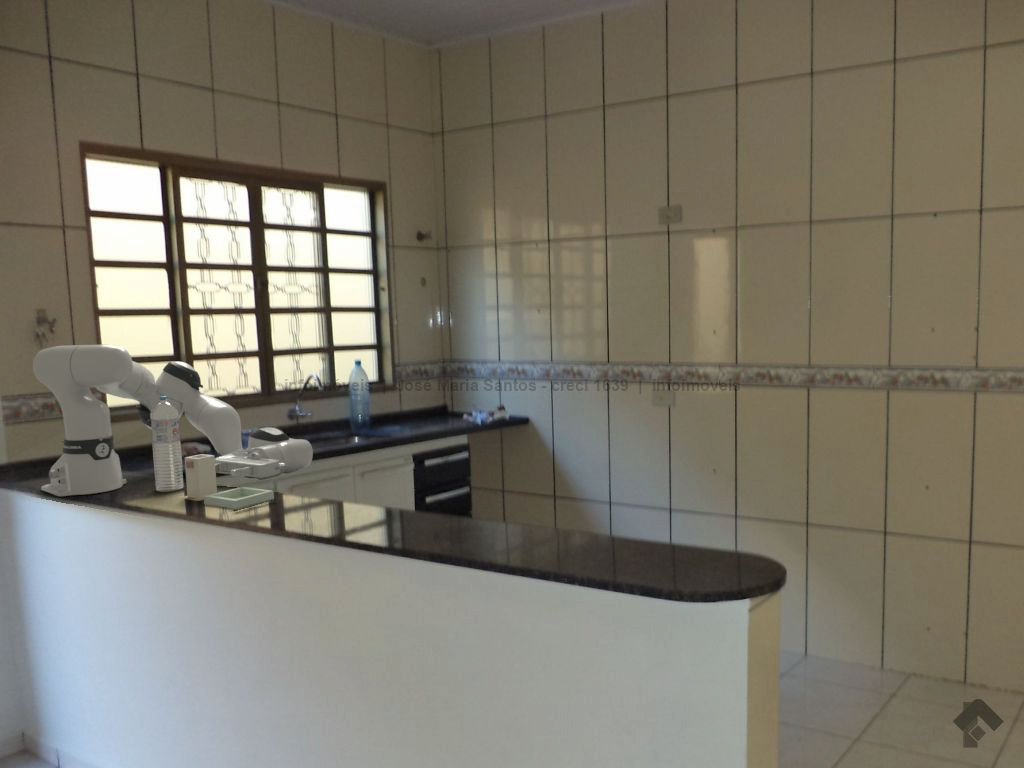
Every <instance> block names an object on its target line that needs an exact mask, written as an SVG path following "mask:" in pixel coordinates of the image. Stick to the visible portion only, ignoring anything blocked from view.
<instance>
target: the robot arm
mask: <svg viewBox="0 0 1024 768" xmlns="http://www.w3.org/2000/svg"><path fill="white" fill-rule="evenodd" d="M32 362H33V363H32V371H33V374H34V376H35V378H36V379H37V380H38V382H40V384H42V385H44V386H45V387H46V388H48V389H49V390H50V391H51V393H52V394H53V395H54V397H55V398H56V401H57V402H58V404H59V406H60V409H61V413H62V418H63V424H64V434H65V435H64V436H65V439H64V440H63V441H61V443H63V444H61V446H62V453H63V454H62V455H61V456H60V457H59V458H58V459H57V460H56V462H55V463H54V464H53V465H52V466H51V467H50V470H49V471H48V476H49V479H50V483H48V484H44V485H42V486H41V488H40V490H41V491H43V492H46V493H49V494H51V495H54V496H56V497H66V496H67V497H68V496H78V495H79V496H80V495H82V496H83V495H91V494H93V495H94V494H98V493H105V492H110V491H114V490H117V489H120V488H122V487H123V486H124V484H127V479H126V478H123V473H122V468H121V467H122V466H121V461H120V457H119V454H118V453H116V451H115V450H114V449H115V447H116V446H115V443H116V441H115V439H114V435H113V434H112V422H111V411H110V408H109V406H108V404H106V403H105V402H104V401H101V400H100V399H98V398H96V396H95V395H94V394H93V392H92V391H91V388H90V387H94V388H95V389H96V390H97V391H99V392H100V393H103V394H107V395H110V396H114V397H117V398H122V399H128V400H129V399H130V400H133V401H136V402H138V403H139V405H135V409H136V410H137V411H138V417H139V419H140V421H141V423H142V424H144V426H146V428H148V429H150V430H151V431H152V425H151V419H150V417H151V416H150V413H151V411H152V410H153V408H154V407H155V406H156V405H157V404H159V403H160V399H159V397H161V396H167V402H168V403H170V404H171V405H173V406H174V407H175V408H176V409H177V411H178V415H179V417H178V421H179V420H180V418H181V417H182V415H183V413H184V416H185V419H187V421H188V422H189V423H190V424H191V425H192V427H194V428H195V429H196V430H198V431H199V432H200V433H202V434H203V435H205V437H207V439H208V440H209V441H210V444H211V445H212V447H213V448H214V450H215V453H217V455H218V456H217V457H215V470H216V474H217V473H218V474H224V475H230V476H231V477H232V478H233V477H234V478H239V477H244V478H248V479H257V480H260V481H262V480H266V479H270V478H275V477H278V476H281V474H291V473H294V472H298V471H300V470H303V469H305V468H307V467H309V466H310V465H311V463H312V462H313V458H314V457H313V455H314V450H313V447H312V444H311V443H310V441H308V440H307V439H302V438H300V439H299V438H298V439H296V438H291V437H289V436H288V435H287V434H286V433H285V432H284V431H283V430H282V429H280V428H278V427H275V426H260V427H258V428H256V429H255V430H253V431H252V432H250V434H249V436H248V443H247V448H243V442H242V422H241V418H240V415H239V413H238V412H237V411H236V409H235V408H234V407H233V406H232V405H231V404H229V403H227V402H225V401H223V400H220V399H219V398H217V397H213V396H211V395H207V394H206V393H205V394H204V393H202V392H201V391H200V388H201V389H203V388H204V385H203V384H202V383H201V377H200V375H199V374H200V373H198V371H196V369H195V368H194V367H193V366H192V365H190V364H189V363H186V362H183V361H175V360H172V361H169V362H168V363H166V365H165V366H164V367H163V369H162V371H161V373H160V375H159V376H158V377H157V379H156V377H155V376H154V375H153V373H152V371H150V370H149V369H148V368H147V367H146V366H143V365H142V364H140V363H139V362H136V361H133V359H132V356H131V354H130V353H129V351H128V350H127V349H126V348H125V347H121V346H118V345H117V346H116V345H110V344H78V345H76V344H74V345H56V346H52V347H51V346H50V347H47V348H43V349H41V350H40V351H38V352H37V353H36V355H35V356H34V359H33V361H32ZM155 379H156V380H155Z"/></svg>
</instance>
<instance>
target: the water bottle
mask: <svg viewBox="0 0 1024 768" xmlns="http://www.w3.org/2000/svg"><path fill="white" fill-rule="evenodd" d="M159 399H160V403H159V404H157V405H156V406H155V407H154V408H153V410H152V411H151V413H150V416H151V417H150V419H151V425H152V430H151V434H152V435H151V436H152V437H151V438H152V443H151V444H152V455H153V458H152V459H153V466H154V481H155V482H154V483H155V489H156V490H155V491H157V492H161V493H163V492H165V493H167V492H174V491H179V490H182V489H184V487H185V485H184V473H183V471H184V470H183V459H182V456H183V455H182V446H181V445H182V444H181V438H180V437H181V436H180V427H179V426H180V425H179V424H180V423H179V420H178V417H179V415H178V411H177V409H176V408H175V407H174V406H173V405H171V404H170V403H168V402H167V396H161V397H159Z"/></svg>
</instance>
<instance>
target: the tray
mask: <svg viewBox="0 0 1024 768" xmlns="http://www.w3.org/2000/svg"><path fill="white" fill-rule="evenodd" d="M271 500H274V501H275V495H274V490H270V489H262V488H255V487H248V486H241V487H237V488H236V487H235V488H231V489H228V490H224V491H219V492H217V493H215V494H211V495H207V496H204V500H203V503H204V505H206V506H207V505H209V506H214V507H221V508H227V509H228V508H229V509H233V511H232V512H238V510H239V511H242V510H241V509H243V510H246V509H250V508H252V506H254V507H256V506H255V505H257V506H259V505H258V504H261V505H263V504H262V503H264V502H268V501H271ZM268 503H269V502H268ZM249 507H250V508H249ZM245 508H246V509H245Z"/></svg>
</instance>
